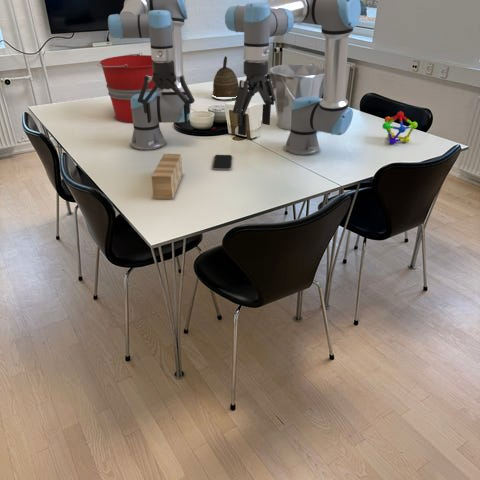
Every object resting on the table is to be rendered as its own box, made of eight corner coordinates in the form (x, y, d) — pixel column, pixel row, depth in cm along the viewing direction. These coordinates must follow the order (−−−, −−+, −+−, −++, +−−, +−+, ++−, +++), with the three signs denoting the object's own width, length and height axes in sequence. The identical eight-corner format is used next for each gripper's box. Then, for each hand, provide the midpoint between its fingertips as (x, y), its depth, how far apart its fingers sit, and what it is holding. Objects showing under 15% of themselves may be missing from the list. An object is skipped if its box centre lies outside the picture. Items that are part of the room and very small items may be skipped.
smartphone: (212, 168, 182) (215, 154, 194) (213, 169, 182) (215, 156, 195) (230, 168, 182) (231, 154, 194) (230, 170, 182) (231, 156, 195)
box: (165, 174, 178) (163, 153, 173) (182, 175, 178) (181, 154, 173) (153, 198, 159) (151, 176, 155) (172, 199, 159) (170, 176, 155)
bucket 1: (115, 106, 261) (107, 52, 245) (174, 107, 260) (170, 52, 244) (97, 124, 232) (87, 64, 216) (164, 125, 231) (159, 65, 215)
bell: (227, 105, 294) (202, 96, 282) (238, 66, 289) (213, 55, 277) (243, 108, 280) (217, 98, 268) (255, 66, 275) (229, 55, 263)
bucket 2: (296, 138, 215) (301, 78, 201) (255, 124, 234) (256, 68, 219) (335, 125, 232) (342, 70, 217) (294, 113, 251) (297, 61, 236)
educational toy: (377, 146, 209) (379, 114, 202) (384, 138, 219) (386, 107, 211) (411, 149, 202) (415, 116, 195) (417, 141, 212) (420, 109, 204)
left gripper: (124, 62, 149) (131, 124, 160) (197, 63, 148) (200, 125, 160) (129, 58, 156) (136, 118, 167) (200, 59, 155) (202, 119, 166)
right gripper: (241, 68, 124) (240, 141, 135) (288, 56, 141) (284, 122, 152) (220, 65, 127) (221, 136, 139) (268, 53, 144) (266, 118, 156)
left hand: (167, 122), depth 163 cm, fingers open, 13 cm apart
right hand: (254, 129), depth 145 cm, fingers open, 13 cm apart
